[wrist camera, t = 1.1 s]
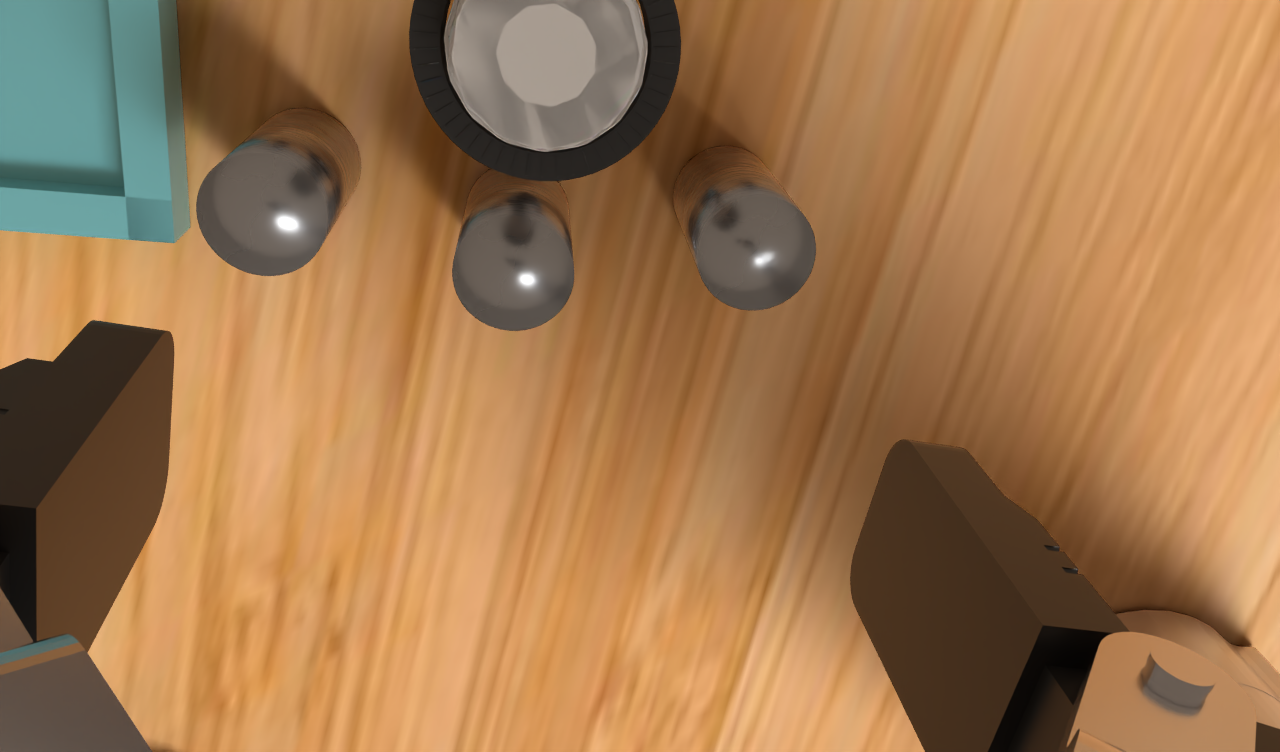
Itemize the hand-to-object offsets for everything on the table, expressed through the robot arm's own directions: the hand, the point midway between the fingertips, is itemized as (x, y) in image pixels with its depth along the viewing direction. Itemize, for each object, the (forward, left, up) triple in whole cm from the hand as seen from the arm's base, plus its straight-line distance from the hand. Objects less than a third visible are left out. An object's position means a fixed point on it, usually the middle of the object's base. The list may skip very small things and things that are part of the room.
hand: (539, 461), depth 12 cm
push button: (0, -3, -21) cm, 21 cm away
